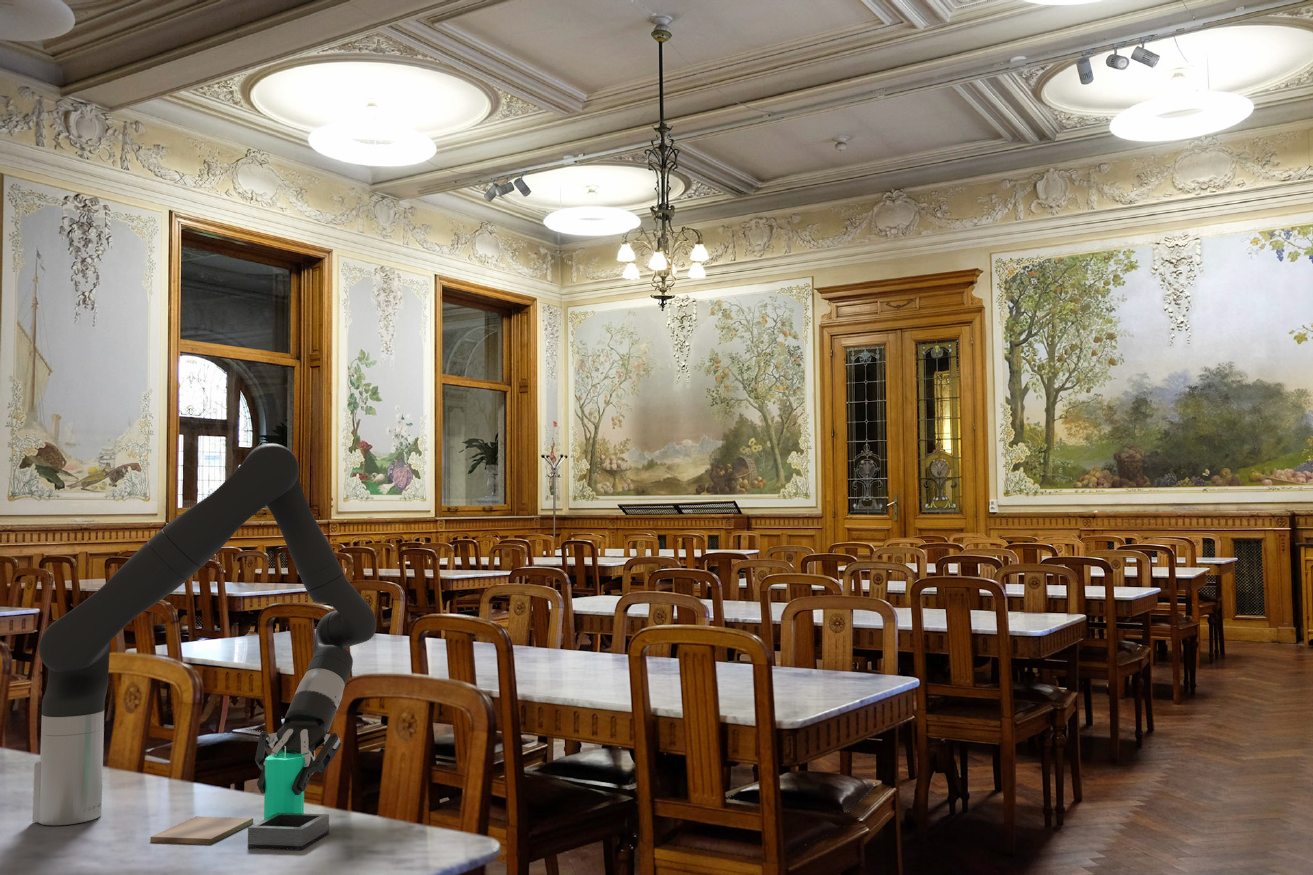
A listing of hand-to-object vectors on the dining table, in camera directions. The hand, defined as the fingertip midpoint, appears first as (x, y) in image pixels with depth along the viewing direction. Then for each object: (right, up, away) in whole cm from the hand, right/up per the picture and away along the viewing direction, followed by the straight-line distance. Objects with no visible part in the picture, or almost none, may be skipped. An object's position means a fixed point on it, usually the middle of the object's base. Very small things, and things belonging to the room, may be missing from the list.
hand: (279, 791), depth 174 cm
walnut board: (-11, -6, -2) cm, 13 cm away
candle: (0, -6, +2) cm, 6 cm away
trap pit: (+4, -5, -8) cm, 10 cm away
